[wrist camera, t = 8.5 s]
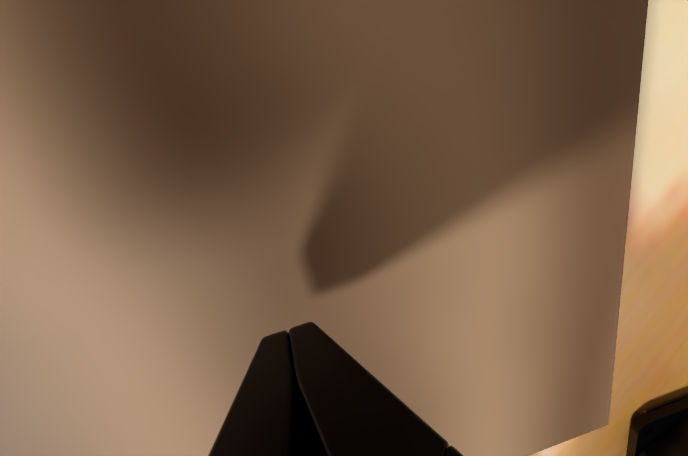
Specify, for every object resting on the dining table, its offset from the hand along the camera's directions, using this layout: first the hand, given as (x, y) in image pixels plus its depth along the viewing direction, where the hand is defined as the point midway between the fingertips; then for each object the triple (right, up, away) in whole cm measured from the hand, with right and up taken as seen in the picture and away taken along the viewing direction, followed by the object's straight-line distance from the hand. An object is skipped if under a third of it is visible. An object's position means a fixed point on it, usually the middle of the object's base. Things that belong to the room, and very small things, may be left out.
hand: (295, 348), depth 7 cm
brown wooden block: (-1, +2, +4) cm, 5 cm away
